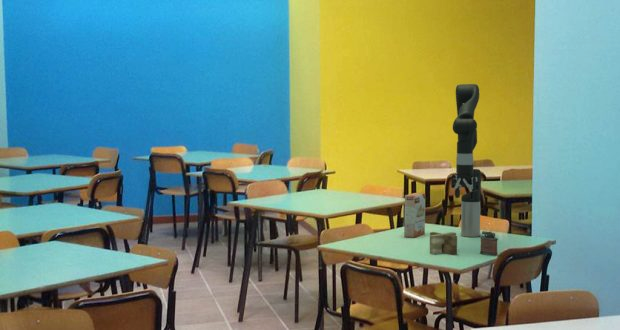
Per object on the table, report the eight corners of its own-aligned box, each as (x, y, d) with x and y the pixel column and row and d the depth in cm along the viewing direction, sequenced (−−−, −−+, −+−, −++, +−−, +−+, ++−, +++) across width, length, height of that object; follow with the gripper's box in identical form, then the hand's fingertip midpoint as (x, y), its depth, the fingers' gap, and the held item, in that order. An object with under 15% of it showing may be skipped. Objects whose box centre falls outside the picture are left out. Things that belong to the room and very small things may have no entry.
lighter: (499, 254, 328) (499, 232, 328) (495, 256, 326) (495, 233, 325) (482, 252, 334) (482, 230, 333) (478, 253, 331) (478, 231, 330)
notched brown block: (429, 250, 340) (429, 232, 340) (433, 249, 342) (433, 231, 341) (453, 254, 329) (453, 236, 329) (457, 254, 331) (457, 236, 330)
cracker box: (415, 238, 370) (415, 195, 369) (403, 237, 373) (403, 195, 372) (425, 234, 382) (425, 192, 381) (414, 233, 385) (414, 192, 384)
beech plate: (429, 253, 332) (430, 235, 332) (451, 249, 341) (451, 232, 340) (433, 254, 330) (434, 236, 330) (455, 250, 339) (455, 232, 338)
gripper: (447, 162, 344) (447, 198, 346) (471, 165, 333) (471, 201, 334) (458, 161, 348) (458, 196, 350) (482, 163, 337) (482, 199, 339)
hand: (464, 198), depth 342 cm, fingers open, 8 cm apart
